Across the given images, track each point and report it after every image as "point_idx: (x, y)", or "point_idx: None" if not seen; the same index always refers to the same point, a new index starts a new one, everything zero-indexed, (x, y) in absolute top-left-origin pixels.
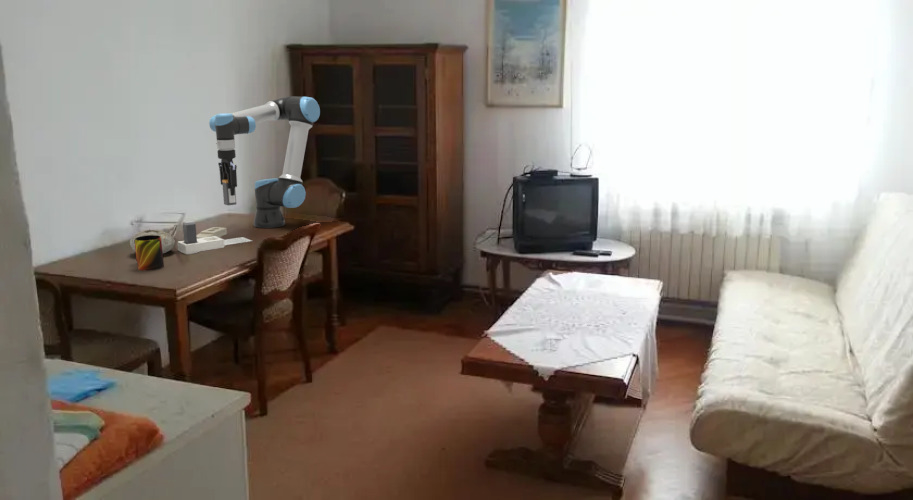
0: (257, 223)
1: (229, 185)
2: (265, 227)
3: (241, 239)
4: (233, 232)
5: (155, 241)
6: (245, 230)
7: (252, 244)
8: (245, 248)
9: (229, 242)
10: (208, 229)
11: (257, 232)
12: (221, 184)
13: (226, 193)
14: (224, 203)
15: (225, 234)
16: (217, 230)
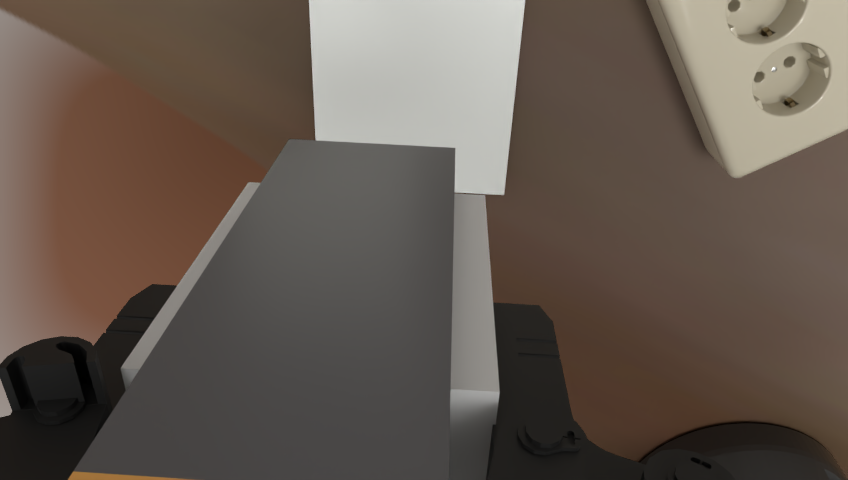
0: (739, 448)
1: (30, 448)
2: (663, 448)
3: (424, 144)
4: (758, 240)
5: None
6: (733, 332)
7: (231, 136)
8: (117, 18)
9: (385, 5)
10: (834, 1)
11: (594, 355)
12: (674, 456)
13: (250, 252)
14: (431, 153)
15: (703, 135)
16: (699, 51)
